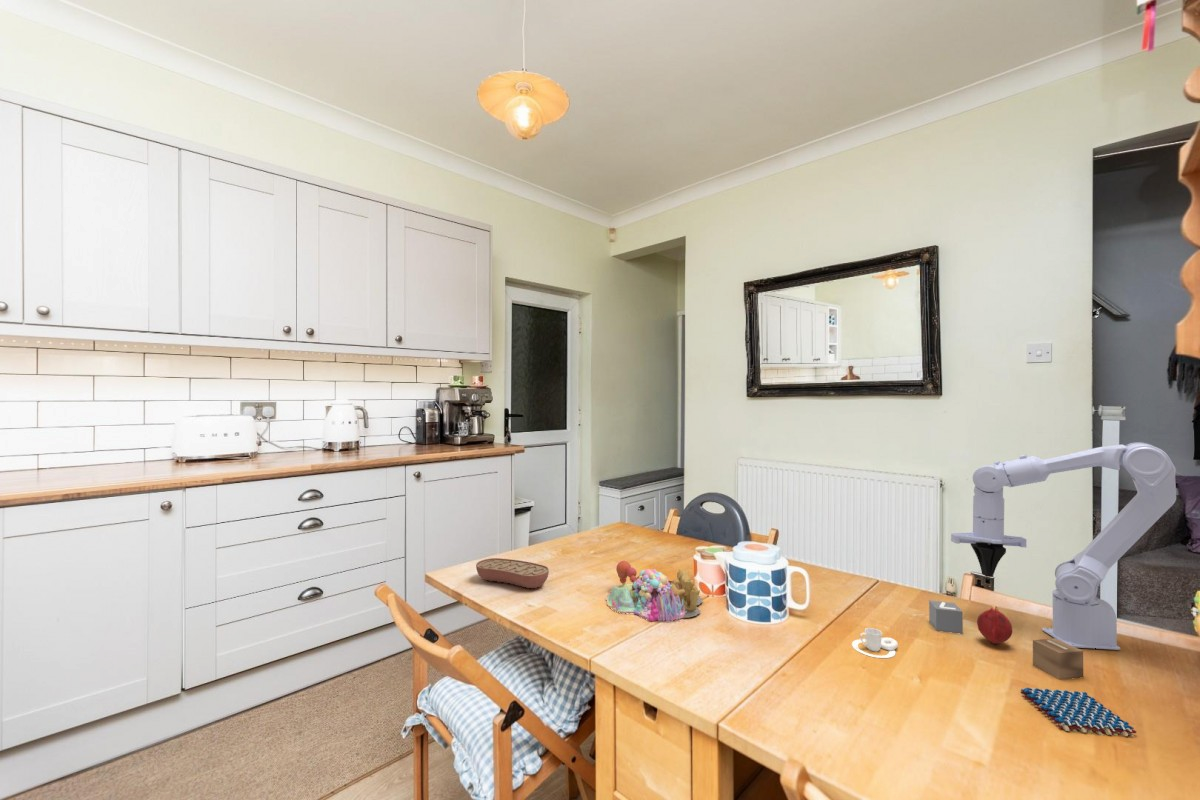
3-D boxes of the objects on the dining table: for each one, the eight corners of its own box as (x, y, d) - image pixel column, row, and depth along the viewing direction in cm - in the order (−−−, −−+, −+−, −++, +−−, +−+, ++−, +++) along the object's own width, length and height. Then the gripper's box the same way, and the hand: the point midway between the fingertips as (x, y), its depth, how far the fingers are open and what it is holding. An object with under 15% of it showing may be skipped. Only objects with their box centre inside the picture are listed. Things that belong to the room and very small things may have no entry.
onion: (1018, 652, 102) (1018, 612, 102) (986, 649, 103) (986, 610, 103) (1002, 638, 108) (1001, 601, 108) (971, 636, 109) (971, 599, 109)
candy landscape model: (695, 586, 140) (694, 553, 140) (713, 624, 117) (712, 584, 117) (605, 586, 140) (605, 553, 140) (605, 624, 117) (605, 584, 117)
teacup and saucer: (895, 645, 106) (895, 625, 106) (904, 663, 99) (904, 643, 99) (849, 639, 109) (849, 620, 109) (854, 656, 101) (854, 636, 101)
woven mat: (1141, 742, 76) (1141, 728, 76) (1062, 735, 78) (1062, 722, 78) (1086, 701, 86) (1086, 689, 86) (1017, 696, 88) (1017, 684, 88)
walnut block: (1055, 664, 98) (1055, 637, 98) (1083, 678, 93) (1083, 650, 93) (1032, 665, 97) (1032, 639, 97) (1059, 680, 92) (1059, 652, 92)
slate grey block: (954, 624, 115) (954, 602, 115) (962, 634, 110) (962, 611, 110) (929, 621, 116) (929, 599, 116) (936, 631, 112) (936, 608, 112)
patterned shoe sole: (469, 583, 143) (469, 565, 143) (491, 572, 152) (491, 555, 152) (537, 596, 133) (537, 577, 133) (556, 583, 142) (556, 566, 142)
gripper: (961, 519, 114) (960, 579, 114) (1035, 523, 111) (1034, 584, 111) (947, 512, 121) (946, 568, 121) (1016, 515, 118) (1015, 573, 118)
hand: (987, 575), depth 117 cm, fingers closed
